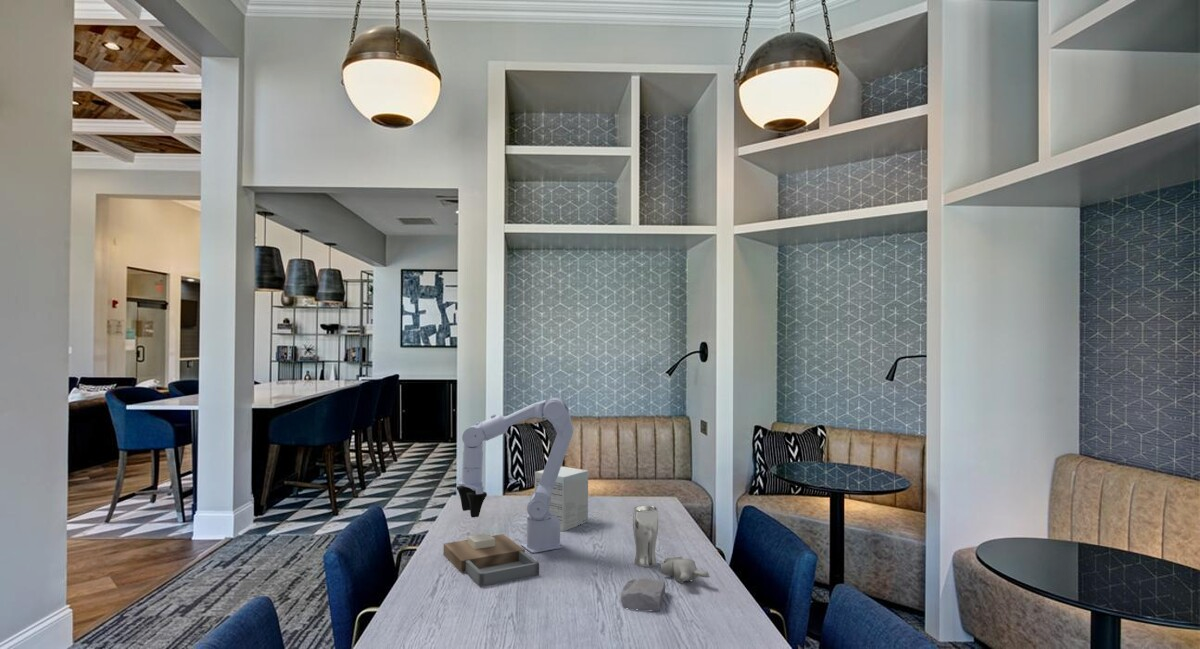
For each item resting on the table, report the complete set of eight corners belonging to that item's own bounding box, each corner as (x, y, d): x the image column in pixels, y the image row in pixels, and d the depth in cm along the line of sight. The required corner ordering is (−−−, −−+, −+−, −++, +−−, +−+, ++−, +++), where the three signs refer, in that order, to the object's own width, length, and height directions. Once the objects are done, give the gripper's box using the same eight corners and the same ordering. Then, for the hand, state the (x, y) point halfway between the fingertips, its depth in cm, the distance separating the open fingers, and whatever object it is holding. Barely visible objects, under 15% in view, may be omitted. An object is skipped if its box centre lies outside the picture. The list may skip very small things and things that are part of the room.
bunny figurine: (685, 552, 166) (713, 564, 152) (686, 571, 165) (714, 585, 151) (653, 555, 163) (678, 568, 149) (654, 575, 162) (679, 590, 148)
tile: (487, 540, 177) (487, 533, 177) (495, 545, 172) (495, 538, 172) (467, 543, 174) (467, 536, 174) (474, 549, 169) (474, 542, 169)
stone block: (620, 617, 139) (663, 612, 137) (616, 596, 139) (659, 590, 137) (628, 598, 150) (668, 593, 148) (624, 578, 151) (664, 573, 149)
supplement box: (558, 515, 214) (559, 465, 215) (588, 522, 207) (589, 470, 207) (533, 524, 203) (533, 471, 204) (563, 531, 196) (564, 476, 196)
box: (522, 561, 168) (522, 550, 168) (539, 574, 159) (539, 563, 159) (465, 572, 160) (465, 560, 160) (479, 586, 151) (479, 574, 151)
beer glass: (661, 561, 170) (661, 506, 170) (652, 569, 163) (653, 512, 164) (638, 557, 172) (638, 503, 173) (628, 565, 166) (629, 509, 167)
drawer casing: (503, 544, 183) (503, 534, 183) (524, 560, 169) (524, 549, 169) (443, 554, 174) (443, 543, 174) (461, 572, 160) (461, 560, 160)
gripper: (451, 463, 185) (449, 508, 184) (467, 472, 172) (465, 521, 172) (474, 461, 188) (472, 506, 188) (491, 470, 176) (489, 518, 175)
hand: (470, 513), depth 180 cm, fingers open, 7 cm apart
